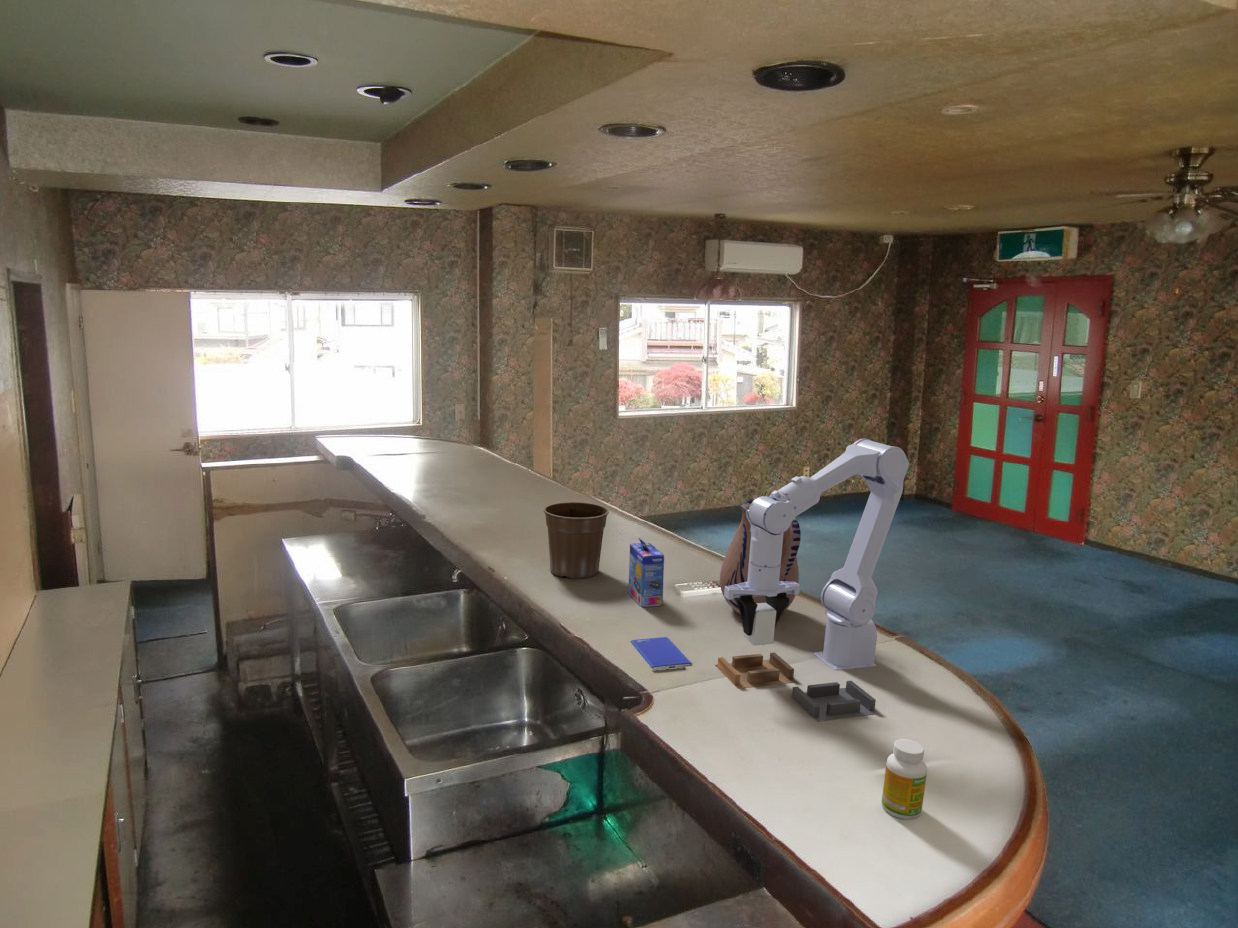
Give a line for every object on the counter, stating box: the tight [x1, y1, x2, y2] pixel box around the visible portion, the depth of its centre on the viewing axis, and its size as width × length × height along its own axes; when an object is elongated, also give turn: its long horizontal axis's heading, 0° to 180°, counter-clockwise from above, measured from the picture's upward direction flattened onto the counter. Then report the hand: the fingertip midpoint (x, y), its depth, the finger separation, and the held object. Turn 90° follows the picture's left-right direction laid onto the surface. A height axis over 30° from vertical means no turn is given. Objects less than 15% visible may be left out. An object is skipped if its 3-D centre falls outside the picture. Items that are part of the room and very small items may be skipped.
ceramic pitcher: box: [719, 498, 802, 615], centre depth 187 cm, size 18×21×25 cm
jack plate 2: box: [788, 680, 879, 723], centre depth 148 cm, size 12×10×2 cm
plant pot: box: [543, 501, 610, 579], centre depth 211 cm, size 16×16×16 cm
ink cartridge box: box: [627, 537, 665, 608], centre depth 194 cm, size 10×6×14 cm, turn 18°
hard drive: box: [630, 636, 693, 672], centre depth 165 cm, size 2×8×12 cm
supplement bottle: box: [881, 738, 928, 820], centre depth 118 cm, size 5×5×10 cm
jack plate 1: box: [714, 652, 797, 690], centre depth 158 cm, size 12×10×2 cm
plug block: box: [743, 603, 776, 647], centre depth 156 cm, size 4×4×6 cm
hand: (758, 632), depth 157 cm, fingers closed on plug block, 4 cm apart
